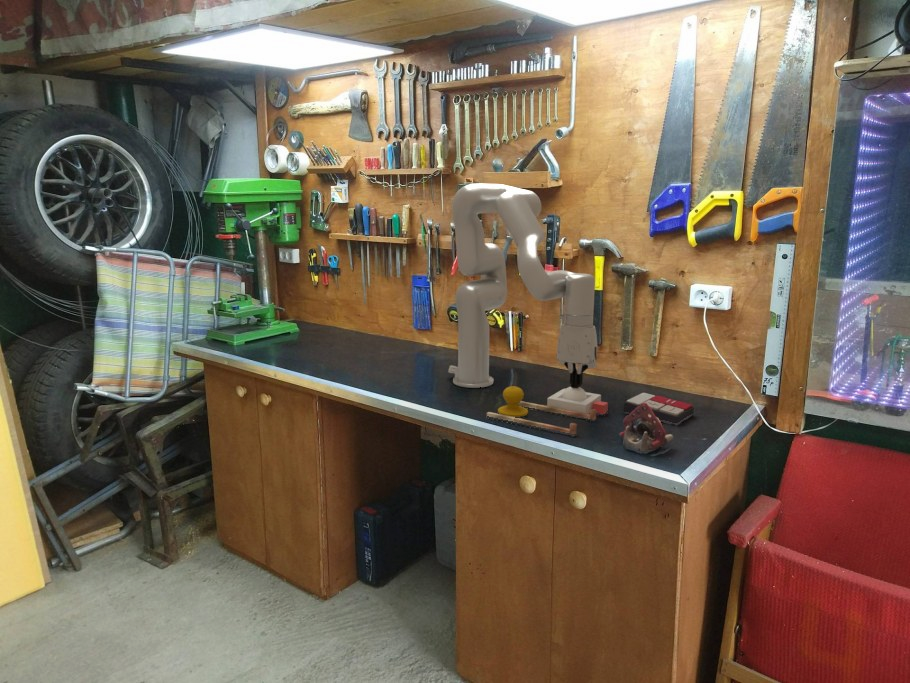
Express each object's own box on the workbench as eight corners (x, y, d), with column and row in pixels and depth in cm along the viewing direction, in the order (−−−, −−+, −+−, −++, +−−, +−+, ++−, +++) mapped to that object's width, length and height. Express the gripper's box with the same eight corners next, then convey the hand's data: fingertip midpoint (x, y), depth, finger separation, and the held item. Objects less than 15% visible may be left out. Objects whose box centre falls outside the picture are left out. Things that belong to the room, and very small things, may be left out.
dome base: (547, 410, 182) (547, 398, 181) (563, 400, 191) (564, 388, 190) (597, 420, 174) (598, 407, 174) (612, 409, 183) (613, 397, 183)
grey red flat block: (678, 414, 170) (624, 399, 179) (675, 430, 171) (622, 414, 180) (695, 404, 178) (642, 390, 187) (692, 419, 179) (640, 404, 188)
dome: (558, 409, 183) (559, 387, 181) (567, 403, 188) (568, 381, 187) (580, 414, 179) (581, 391, 178) (589, 407, 185) (590, 385, 183)
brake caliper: (605, 438, 155) (626, 392, 158) (625, 455, 163) (645, 412, 165) (647, 452, 147) (669, 404, 150) (667, 470, 154) (687, 424, 157)
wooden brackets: (486, 418, 176) (486, 407, 175) (512, 403, 187) (512, 393, 187) (574, 437, 162) (575, 425, 162) (596, 420, 174) (597, 409, 174)
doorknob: (534, 415, 179) (511, 420, 174) (514, 407, 185) (491, 412, 180) (535, 388, 177) (511, 393, 172) (515, 381, 183) (492, 385, 179)
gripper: (547, 319, 179) (544, 385, 183) (600, 325, 171) (597, 394, 175) (558, 315, 185) (556, 379, 189) (610, 321, 177) (607, 387, 181)
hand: (575, 386), depth 182 cm, fingers closed
